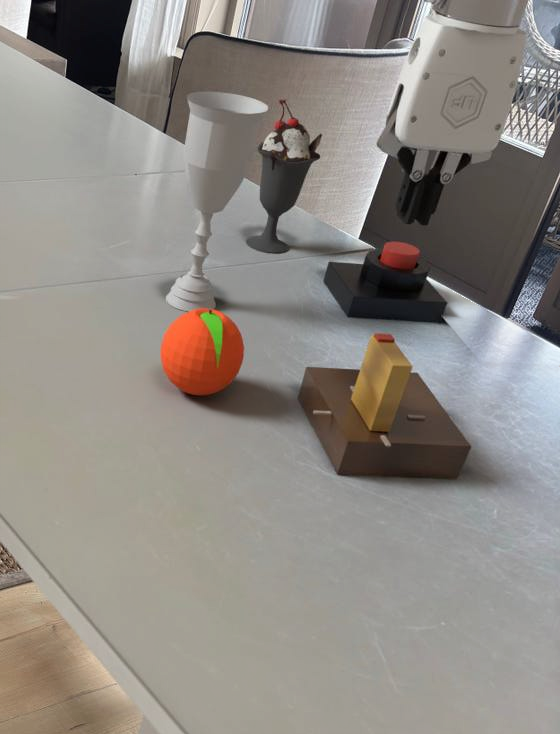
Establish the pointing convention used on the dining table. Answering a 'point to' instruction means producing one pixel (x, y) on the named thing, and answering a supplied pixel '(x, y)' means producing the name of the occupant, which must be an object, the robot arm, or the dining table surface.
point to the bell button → (400, 255)
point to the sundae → (282, 176)
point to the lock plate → (376, 448)
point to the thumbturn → (381, 382)
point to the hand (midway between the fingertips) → (411, 219)
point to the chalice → (214, 175)
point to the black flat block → (384, 290)
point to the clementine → (202, 351)
